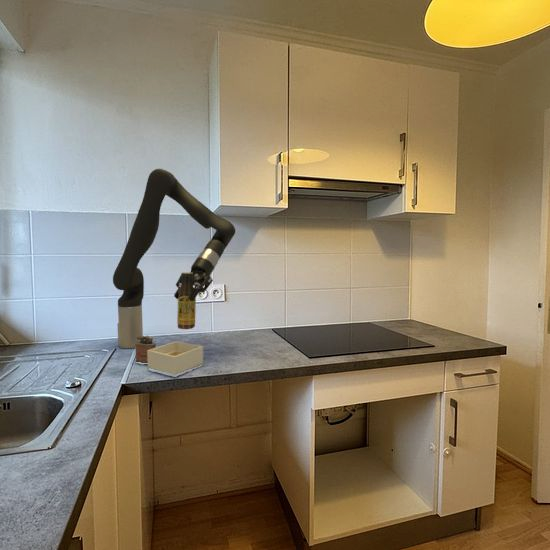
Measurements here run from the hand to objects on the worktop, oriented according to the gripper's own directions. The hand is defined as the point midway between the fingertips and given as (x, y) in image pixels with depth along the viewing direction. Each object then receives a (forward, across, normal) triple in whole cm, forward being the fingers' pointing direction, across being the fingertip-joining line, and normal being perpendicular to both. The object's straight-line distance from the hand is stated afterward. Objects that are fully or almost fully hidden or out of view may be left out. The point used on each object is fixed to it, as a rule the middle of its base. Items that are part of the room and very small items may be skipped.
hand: (183, 298), depth 117 cm
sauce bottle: (+7, 0, +9) cm, 11 cm away
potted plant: (+21, -13, +13) cm, 28 cm away
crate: (+20, 0, +14) cm, 24 cm away
